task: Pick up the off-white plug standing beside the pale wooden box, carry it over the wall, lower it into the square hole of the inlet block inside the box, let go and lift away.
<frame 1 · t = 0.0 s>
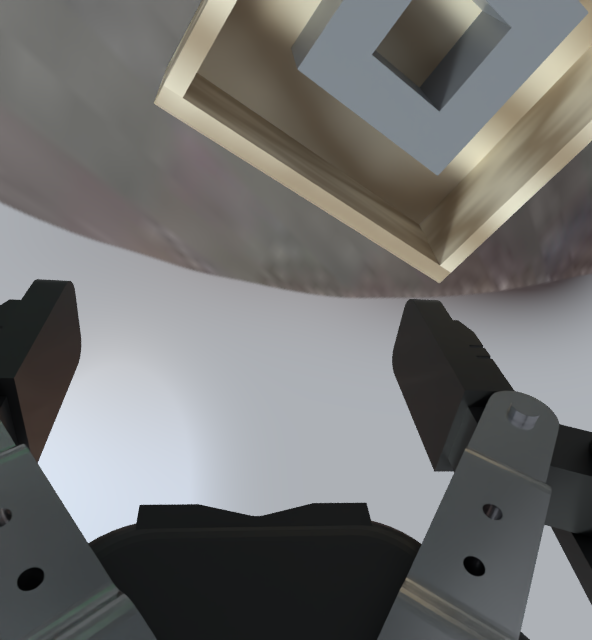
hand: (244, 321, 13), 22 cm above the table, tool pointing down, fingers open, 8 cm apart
walled box: (414, 18, 29), on the table
inlet block: (429, 31, 26), in the walled box, point 3 cm above the table
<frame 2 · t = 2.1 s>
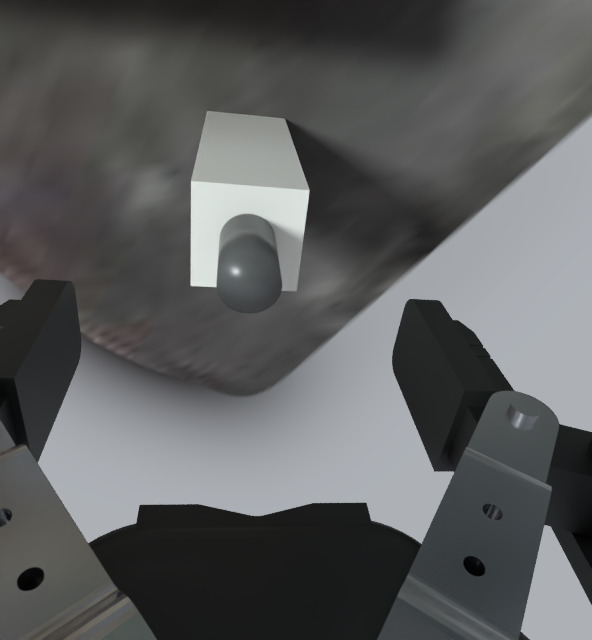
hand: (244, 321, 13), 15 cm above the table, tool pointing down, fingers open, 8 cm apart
plug: (244, 153, 25), on the table
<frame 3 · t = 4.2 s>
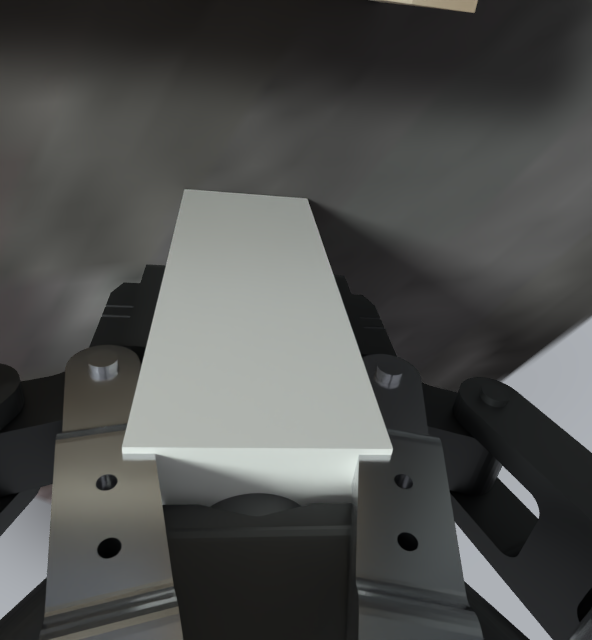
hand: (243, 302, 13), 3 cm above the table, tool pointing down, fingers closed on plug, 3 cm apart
plug: (243, 249, 16), on the table, touching gripper
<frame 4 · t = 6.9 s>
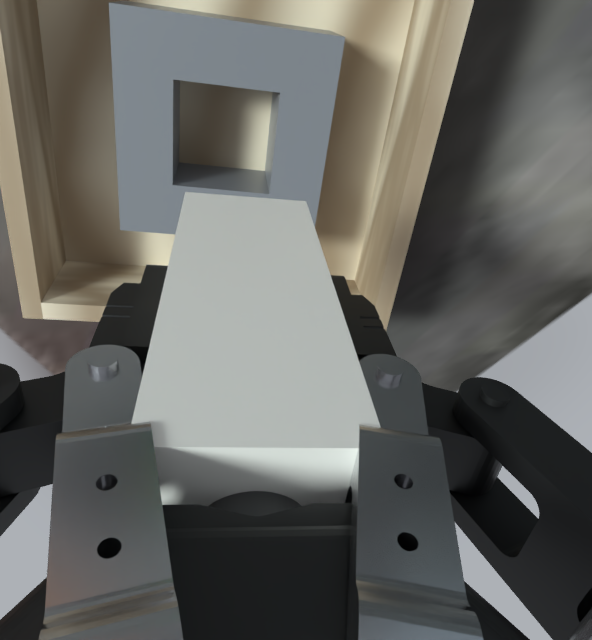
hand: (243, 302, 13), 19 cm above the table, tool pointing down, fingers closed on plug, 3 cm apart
walled box: (225, 118, 29), on the table
plug: (243, 251, 16), point 15 cm above the table, touching gripper
inlet block: (224, 130, 26), in the walled box, point 3 cm above the table
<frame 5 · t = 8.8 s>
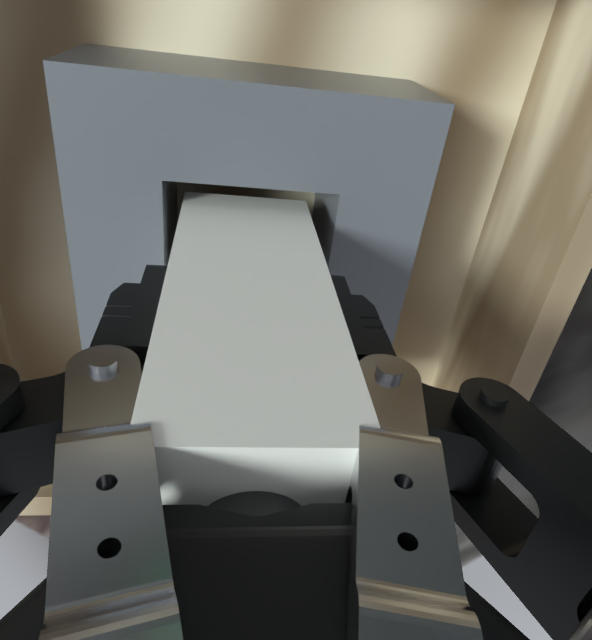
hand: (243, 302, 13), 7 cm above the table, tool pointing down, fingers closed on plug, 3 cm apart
walled box: (245, 206, 19), on the table
plug: (242, 251, 16), point 4 cm above the table, touching gripper
inlet block: (246, 239, 17), in the walled box, point 3 cm above the table
when the fingers open (6 cm above the table, at t = 10.0 s): plug drops 2 cm, resting on walled box.
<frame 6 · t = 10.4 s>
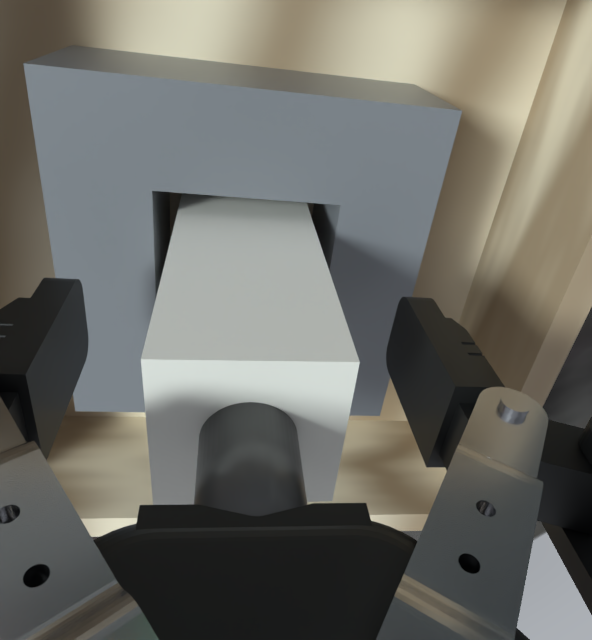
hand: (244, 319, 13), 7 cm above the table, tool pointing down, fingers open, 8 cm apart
walled box: (241, 214, 19), on the table
plug: (241, 226, 18), point 1 cm above the table, touching walled box
inlet block: (242, 250, 16), in the walled box, point 3 cm above the table
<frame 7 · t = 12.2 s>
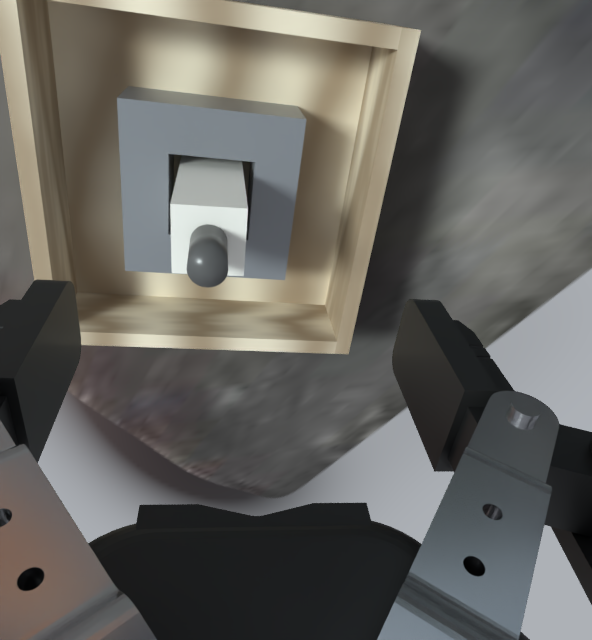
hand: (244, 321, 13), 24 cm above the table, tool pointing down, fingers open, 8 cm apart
walled box: (211, 174, 34), on the table
plug: (211, 179, 34), point 1 cm above the table, touching walled box
inlet block: (211, 188, 32), in the walled box, point 3 cm above the table
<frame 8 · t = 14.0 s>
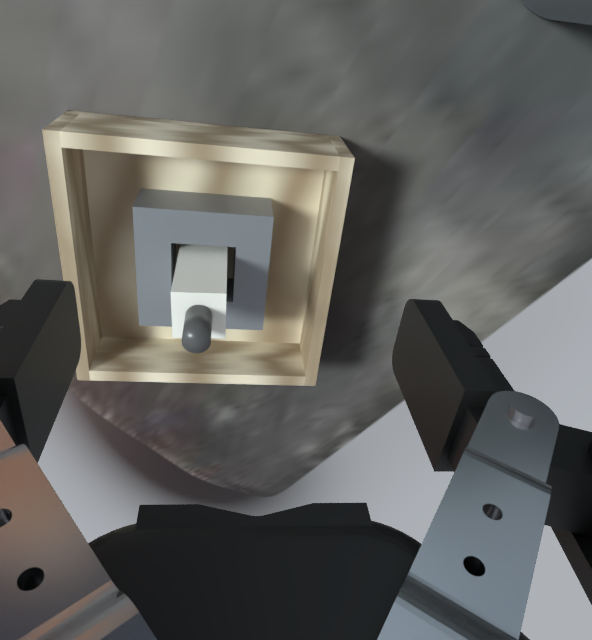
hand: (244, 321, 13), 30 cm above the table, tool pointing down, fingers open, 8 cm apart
walled box: (206, 246, 44), on the table
plug: (205, 251, 43), point 1 cm above the table, touching walled box
inlet block: (204, 262, 41), in the walled box, point 3 cm above the table
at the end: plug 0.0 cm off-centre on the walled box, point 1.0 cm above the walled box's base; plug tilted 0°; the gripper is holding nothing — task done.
